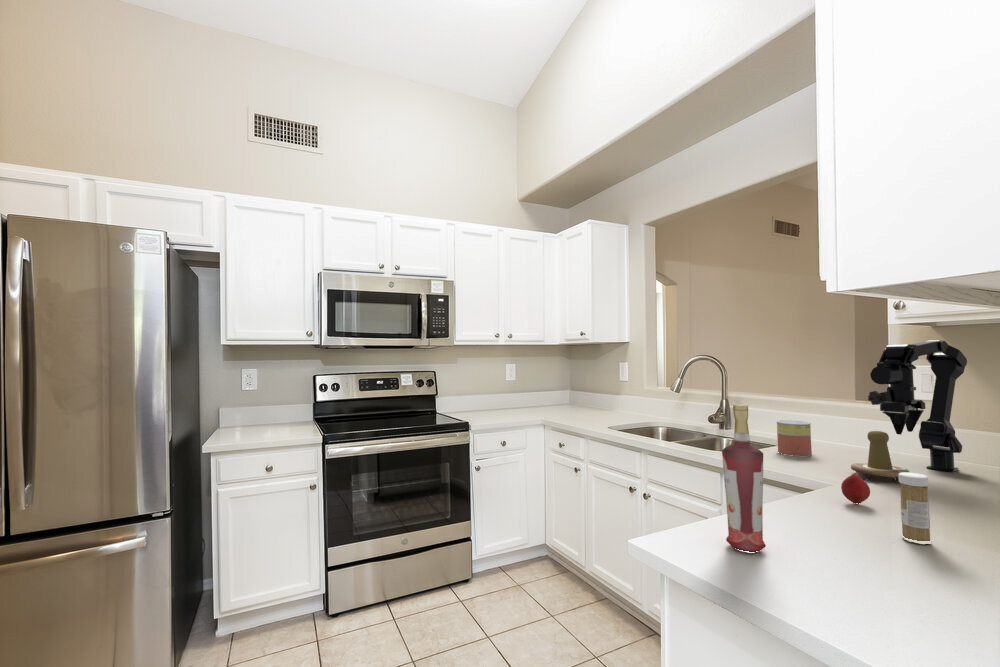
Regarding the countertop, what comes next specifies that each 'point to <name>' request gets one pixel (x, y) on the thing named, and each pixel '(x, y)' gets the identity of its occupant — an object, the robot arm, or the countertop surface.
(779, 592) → the countertop surface
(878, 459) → the cork
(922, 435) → the robot arm
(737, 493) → the liquor
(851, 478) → the onion
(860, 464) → the brown shallow bowl
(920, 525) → the sprinkles bottle
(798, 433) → the canned food
